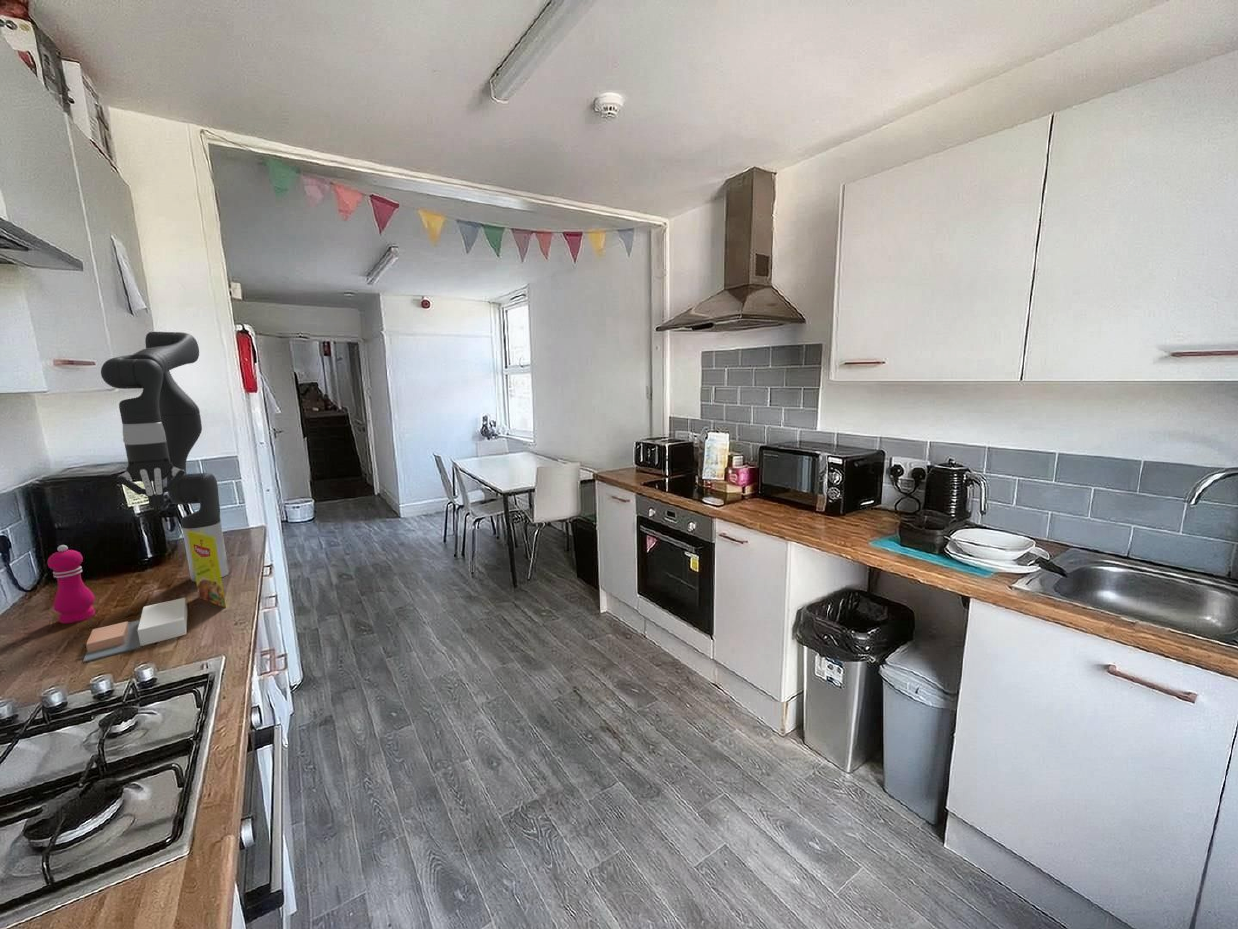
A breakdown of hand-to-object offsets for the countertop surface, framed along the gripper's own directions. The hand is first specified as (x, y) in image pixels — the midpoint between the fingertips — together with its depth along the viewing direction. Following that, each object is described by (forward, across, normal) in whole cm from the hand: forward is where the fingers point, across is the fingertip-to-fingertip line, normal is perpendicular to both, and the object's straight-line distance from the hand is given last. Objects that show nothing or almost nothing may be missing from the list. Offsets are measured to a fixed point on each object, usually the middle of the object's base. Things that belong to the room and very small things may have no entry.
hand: (158, 508), depth 123 cm
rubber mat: (+29, +10, +7) cm, 32 cm away
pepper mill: (+29, +20, -16) cm, 39 cm away
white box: (+29, +2, +7) cm, 30 cm away
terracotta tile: (+27, +12, +7) cm, 30 cm away
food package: (+29, -7, -4) cm, 30 cm away
